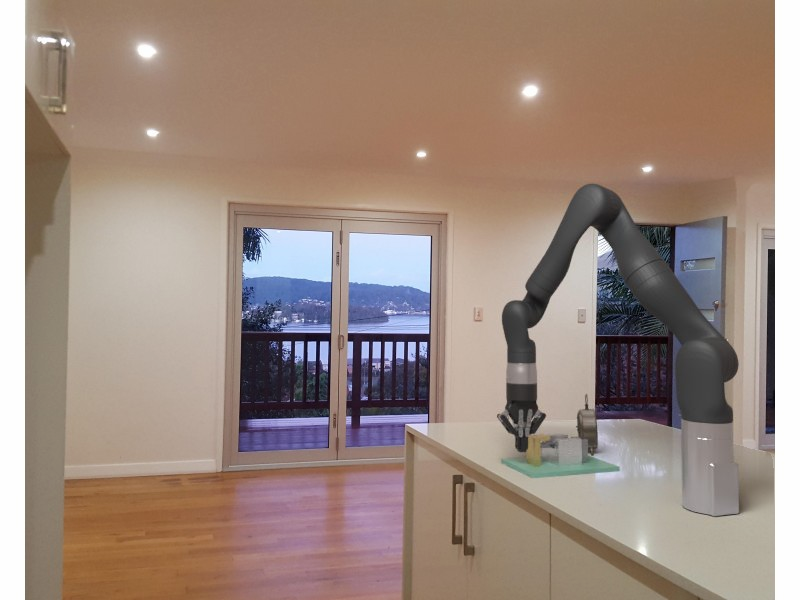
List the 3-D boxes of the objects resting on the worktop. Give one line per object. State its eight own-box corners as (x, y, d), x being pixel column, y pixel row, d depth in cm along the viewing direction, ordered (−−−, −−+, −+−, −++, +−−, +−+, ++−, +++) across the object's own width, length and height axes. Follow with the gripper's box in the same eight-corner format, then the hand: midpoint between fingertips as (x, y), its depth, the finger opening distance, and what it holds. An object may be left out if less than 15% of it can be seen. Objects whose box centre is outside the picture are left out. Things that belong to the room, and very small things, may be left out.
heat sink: (592, 464, 154) (592, 438, 154) (558, 466, 151) (558, 440, 151) (573, 457, 162) (573, 432, 162) (541, 459, 159) (541, 434, 159)
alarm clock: (599, 456, 167) (598, 396, 168) (578, 455, 168) (577, 395, 169) (594, 448, 178) (594, 391, 179) (575, 447, 179) (574, 391, 180)
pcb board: (619, 470, 152) (619, 466, 152) (532, 477, 145) (532, 473, 145) (581, 456, 167) (581, 453, 167) (501, 462, 160) (501, 458, 160)
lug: (551, 465, 153) (551, 436, 153) (534, 466, 152) (534, 437, 152) (542, 461, 157) (542, 433, 157) (526, 462, 155) (526, 434, 156)
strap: (584, 446, 156) (584, 442, 156) (541, 448, 153) (541, 444, 153) (577, 444, 159) (577, 440, 159) (534, 446, 156) (534, 442, 156)
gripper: (504, 383, 148) (504, 456, 147) (553, 381, 152) (553, 453, 151) (490, 380, 155) (490, 450, 154) (537, 379, 159) (537, 447, 158)
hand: (521, 451), depth 153 cm, fingers closed
